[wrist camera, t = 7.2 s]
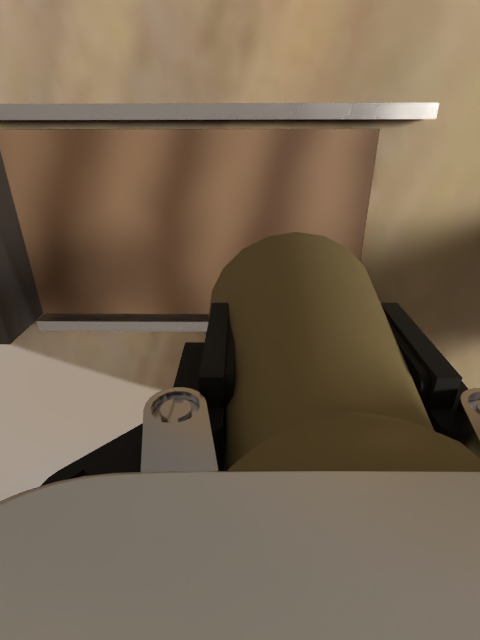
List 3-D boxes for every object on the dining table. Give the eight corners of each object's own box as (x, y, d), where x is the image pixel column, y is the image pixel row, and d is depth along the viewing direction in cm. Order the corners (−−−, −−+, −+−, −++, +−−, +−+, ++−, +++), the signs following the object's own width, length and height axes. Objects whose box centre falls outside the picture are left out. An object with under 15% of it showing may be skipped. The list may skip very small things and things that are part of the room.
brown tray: (373, 128, 23) (408, 129, 18) (348, 307, 29) (370, 345, 24) (-19, 129, 23) (-90, 130, 18) (31, 306, 29) (-14, 344, 24)
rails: (427, 104, 23) (439, 102, 21) (385, 322, 29) (392, 332, 28) (-8, 105, 23) (-24, 104, 22) (48, 321, 30) (38, 330, 28)
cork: (183, 263, 13) (6, 676, 3) (358, 206, 12) (831, 541, 2) (239, 397, 16) (232, 848, 6) (387, 358, 15) (669, 817, 5)
